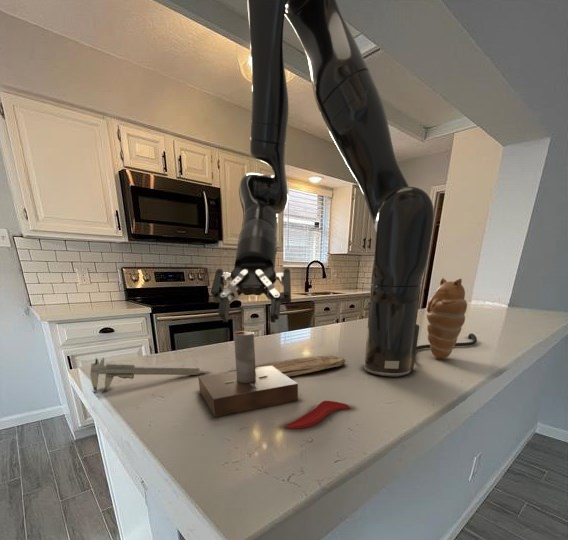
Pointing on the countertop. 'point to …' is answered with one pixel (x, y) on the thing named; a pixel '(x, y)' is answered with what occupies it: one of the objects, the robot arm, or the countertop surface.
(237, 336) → the rod
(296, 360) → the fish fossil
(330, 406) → the cayenne pepper
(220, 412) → the rod block
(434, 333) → the cat bread figurine
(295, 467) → the countertop surface
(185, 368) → the caliper
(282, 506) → the countertop surface
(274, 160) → the robot arm
